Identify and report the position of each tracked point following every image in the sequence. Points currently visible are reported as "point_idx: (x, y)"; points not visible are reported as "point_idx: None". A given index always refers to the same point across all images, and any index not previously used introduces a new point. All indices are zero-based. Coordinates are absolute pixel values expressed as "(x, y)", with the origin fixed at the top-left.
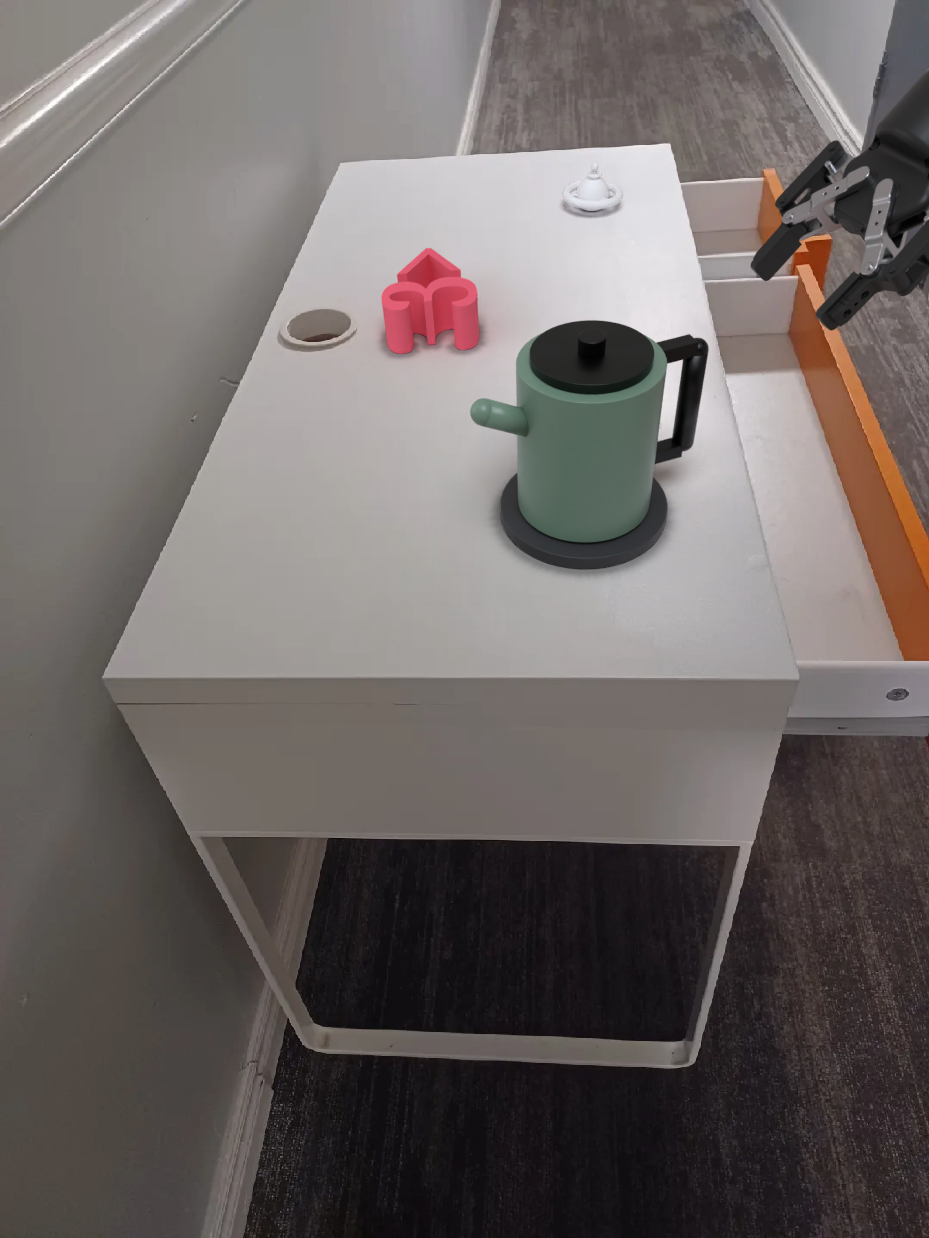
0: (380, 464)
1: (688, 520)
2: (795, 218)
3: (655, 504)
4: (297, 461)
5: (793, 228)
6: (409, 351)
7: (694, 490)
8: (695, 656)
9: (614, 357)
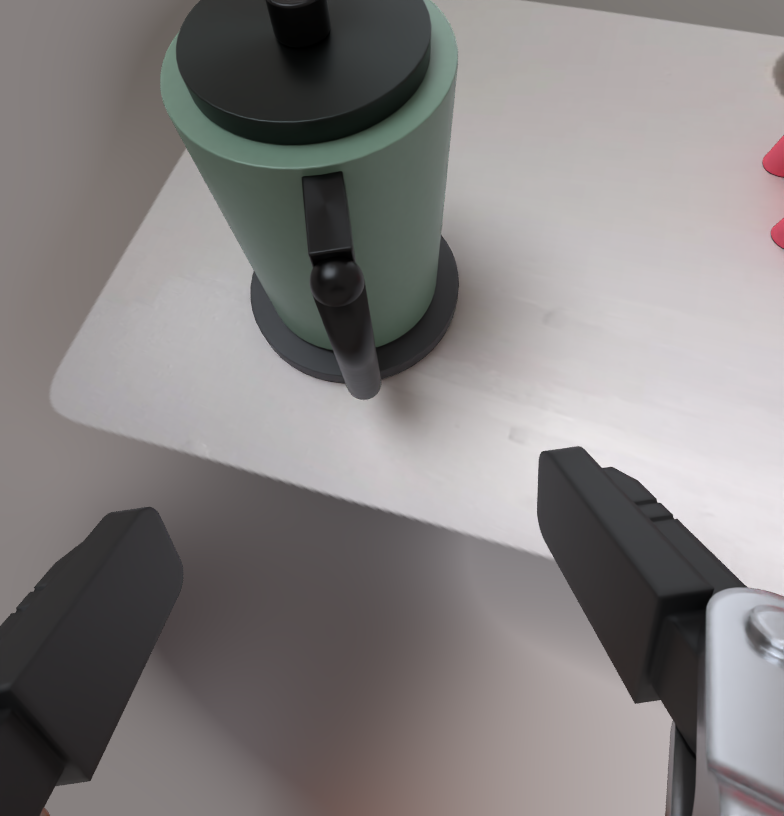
0: (506, 123)
1: (299, 401)
2: (722, 653)
3: (318, 356)
4: (530, 60)
5: (679, 641)
6: (768, 169)
7: (354, 431)
8: (102, 333)
9: (260, 56)
